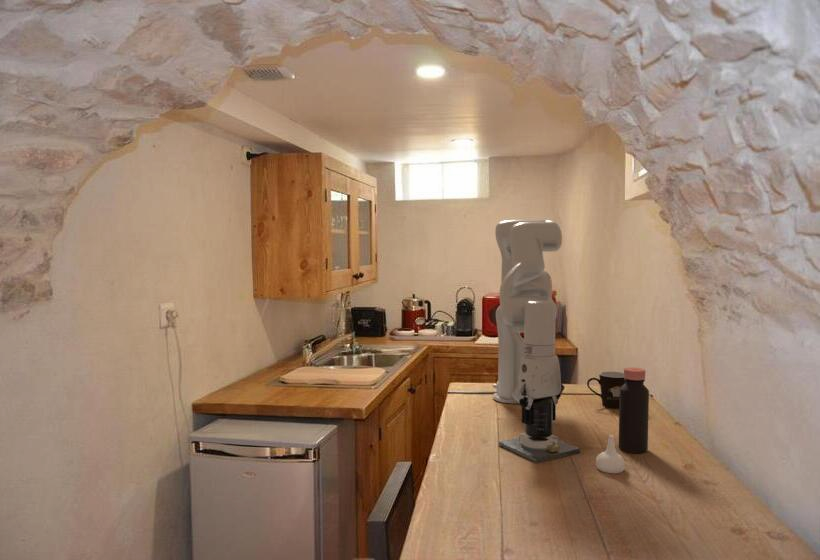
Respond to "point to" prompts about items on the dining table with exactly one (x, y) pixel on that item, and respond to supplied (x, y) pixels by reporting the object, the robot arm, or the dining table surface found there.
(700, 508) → the dining table surface
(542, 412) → the supplement bottle
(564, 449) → the dish on grey tray
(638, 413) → the vinegar
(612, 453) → the garlic bulb
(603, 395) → the coffee mug
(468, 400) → the dining table surface
